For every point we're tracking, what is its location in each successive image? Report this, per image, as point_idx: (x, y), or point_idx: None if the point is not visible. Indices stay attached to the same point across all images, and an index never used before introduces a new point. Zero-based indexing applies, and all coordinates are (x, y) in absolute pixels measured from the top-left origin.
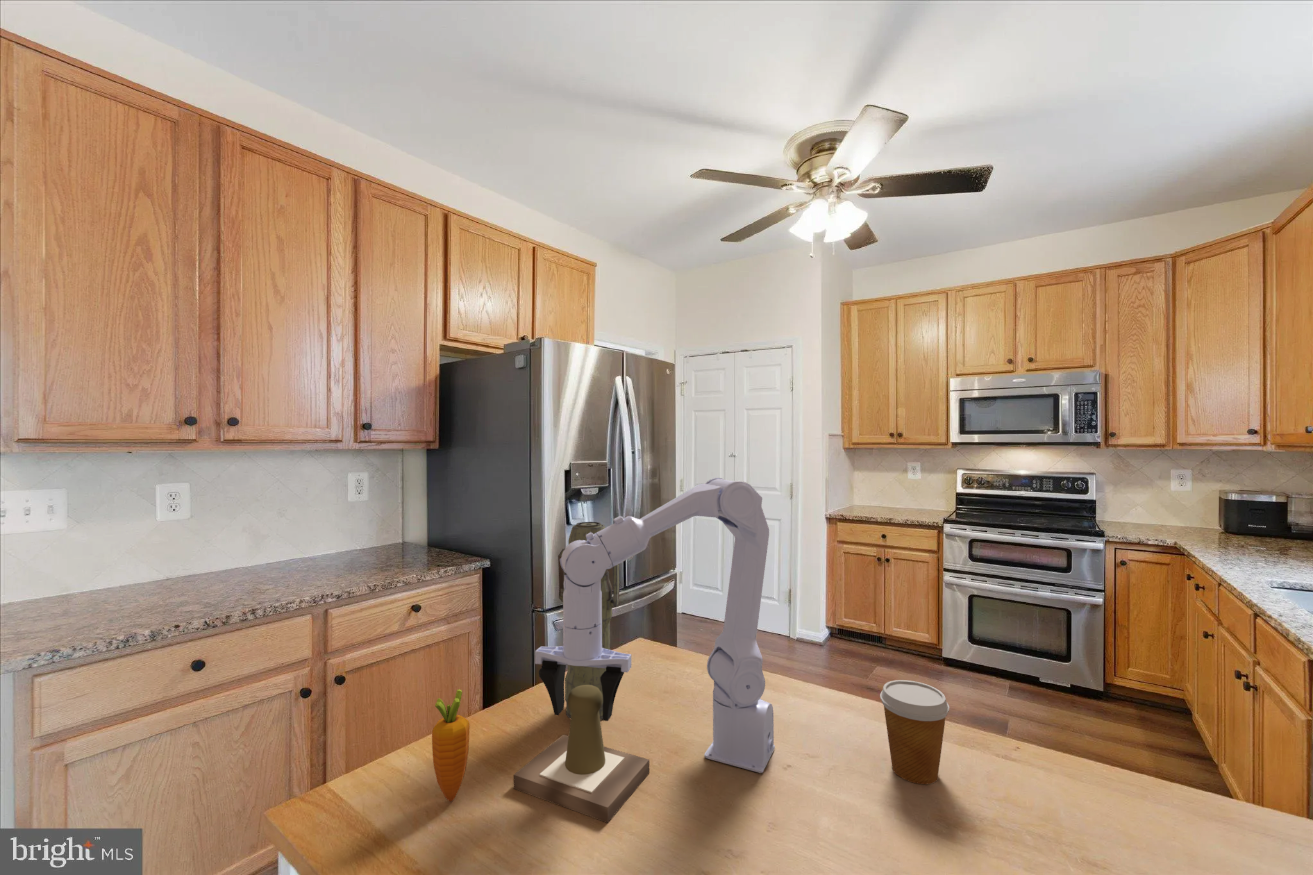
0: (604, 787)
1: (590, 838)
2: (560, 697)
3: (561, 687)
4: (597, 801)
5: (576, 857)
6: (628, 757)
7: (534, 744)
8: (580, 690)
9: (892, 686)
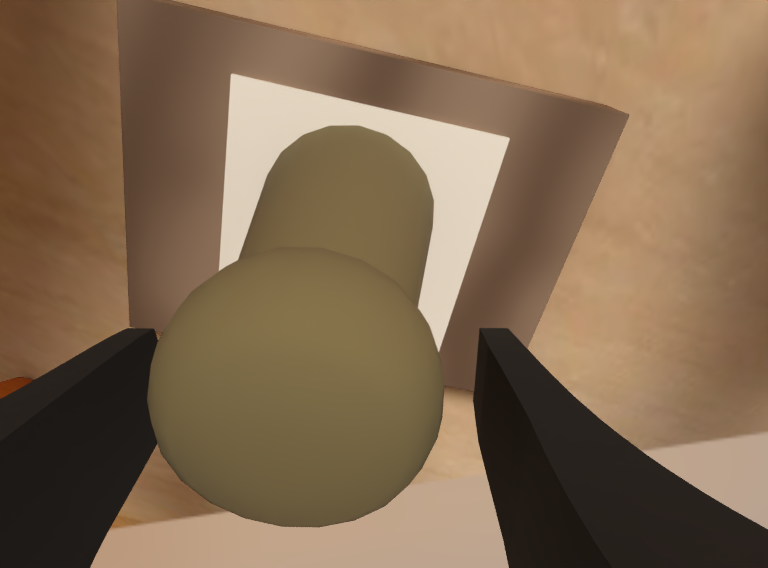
0: (470, 322)
1: (466, 417)
2: (110, 434)
3: (54, 465)
4: (466, 381)
5: (452, 464)
6: (525, 121)
7: (4, 10)
8: (258, 492)
9: None
